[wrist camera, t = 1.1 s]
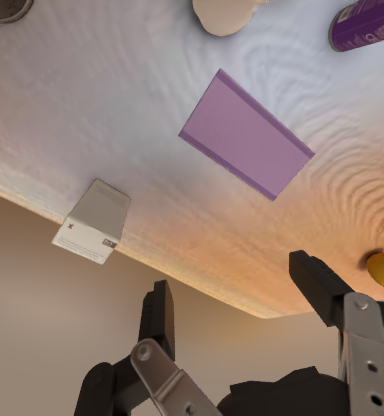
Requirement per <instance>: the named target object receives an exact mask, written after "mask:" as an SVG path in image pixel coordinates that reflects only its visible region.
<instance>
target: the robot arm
mask: <svg viewBox="0 0 384 416" xmlns="http://www.w3.org/2000/svg"><path fill="white" fill-rule="evenodd" d="M31 3H32V0H0V23H8V22H12V21H15V20H17V19H19V18H21V17H22V16H23V15H24V14H25V13H26V12H27V11H28V9H29V7H30V5H31ZM289 274H290V277H291V279H292V280H293V282H294V283H295V284H296V286H297V287H298V288H299V290H300V291H301V292H302V294H303V295H304V296H305V298H306V299H307V300H308V302H309V303H310V304H311V306H312V307H313V308H314V310H315V311H316V312H317V314H318V315H319V316H320V318H321V319H322V320H323V322H324V323H325V324H326V326H327V327H331V326H336V327H337V328H338V329H339V331H338V360H339V361H338V362H339V363H338V364H339V365H338V379H337V378H335V377H332V376H329V375H326V374H320V373H318V371H317V369H316V368H315V366H312V367H308V368H303V369H299V370H295V371H293V372H291V373H290V374H288V375H286V376H285V377H283V378H282V379H280V380H279V381H277V382H260V381H247V382H243V383H238V384H234V385H230V391H231V393H230V394H228V395H227V396H226V397H225V398H223V399H222V400H221V402H220V403H219V404H218V405H217V407H215V406H214V405H213V403H212V402H211V401H210V400H209V399H208V397H207V396H206V395H205V394H204V393H203V392H202V390H201V389H200V388H199V387H198V386H197V385H196V384H195V382H194V381H193V380H192V379H191V378H190V376H188V374H187V373H186V372H185V371H184V370H183V369H181V370H180V369H179V368H178V367H177V366H176V365H175V363H174V361H175V337H174V304H173V299H172V295H171V292H170V288H169V285H168V282H167V280H161V281H157V282H155V283H154V291H151V292H148V293H147V295H146V296H145V298H144V300H143V309H142V316H141V322H140V330H139V337H138V342H137V344H136V346H135V347H134V348H133V350H132V352H131V354H130V355H128V356H127V357H126V358H124V359H123V360H121V361H119V362H117V363H116V364H114V365H111V364H110V363H107V362H102V363H99V364H97V365H96V366H94V367H93V368H92V369H91V370H90V371H89V372H88V373H87V375H86V377H85V378H84V380H83V383H82V387H81V390H80V394H79V398H78V401H77V405H76V409H75V413H74V416H131V410H132V409H133V408H135V407H136V406H138V405H139V404H141V403H142V402H144V401H145V400H147V399H148V398H150V399H151V401H152V402H153V404H154V405H155V407H156V409H157V410H158V412H159V413H160V415H161V416H384V302H380V301H375V300H374V299H373V298H371V297H370V296H368V295H365V294H363V293H359V292H355V291H354V290H353V289H352V288H351V287H350V286H349V285H348V284H347V283H345V282H344V281H343V280H342V279H341V278H340V277H339V276H338V275H337V274H336V273H334V271H333V270H332V269H331V268H329V267H328V266H327V265H326V264H325V263H324V262H323V261H322V260H320V259H318V258H316V257H314V256H311V257H310V256H309V255H308V254H307V253H306V252H305V251H303V250H299V251H294V252H290V254H289Z"/></svg>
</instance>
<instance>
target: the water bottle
mask: <svg viewBox="0 0 384 416" xmlns="http://www.w3.org/2000/svg"><path fill="white" fill-rule="evenodd" d="M268 1H270V0H192V2H193V8H194V11H195V13H196V15H198V17H199V19H200V21H201V24H202V25H203V27H204V29H205V30H207V31H208V32H209V33H211V34H213V35H217V36H227V35H230V34H233V33H235V32H237V31H239V30H240V29H242V28H243V27H244V26H245V25H246V24H247V23H248V22H249V21H250V19H251V18H252V16H253V14H254V12H255V10H256V7H257V5H260V4H264V3H266V2H268Z"/></svg>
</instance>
